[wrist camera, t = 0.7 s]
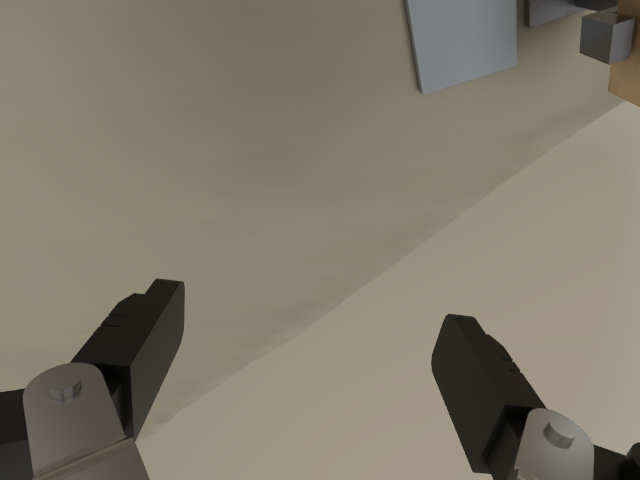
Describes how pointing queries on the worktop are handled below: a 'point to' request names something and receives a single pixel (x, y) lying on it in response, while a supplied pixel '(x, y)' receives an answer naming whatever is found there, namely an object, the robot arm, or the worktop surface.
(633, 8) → the oak rail
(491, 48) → the slate mat
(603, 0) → the charcoal rack
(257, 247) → the worktop surface
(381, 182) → the worktop surface
